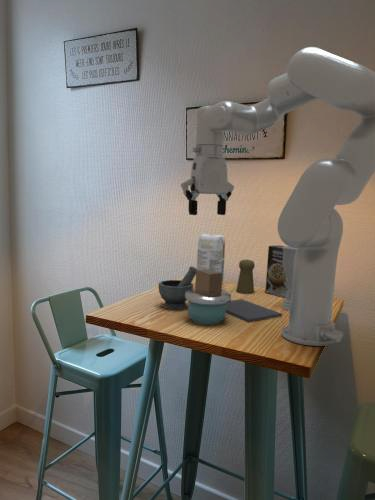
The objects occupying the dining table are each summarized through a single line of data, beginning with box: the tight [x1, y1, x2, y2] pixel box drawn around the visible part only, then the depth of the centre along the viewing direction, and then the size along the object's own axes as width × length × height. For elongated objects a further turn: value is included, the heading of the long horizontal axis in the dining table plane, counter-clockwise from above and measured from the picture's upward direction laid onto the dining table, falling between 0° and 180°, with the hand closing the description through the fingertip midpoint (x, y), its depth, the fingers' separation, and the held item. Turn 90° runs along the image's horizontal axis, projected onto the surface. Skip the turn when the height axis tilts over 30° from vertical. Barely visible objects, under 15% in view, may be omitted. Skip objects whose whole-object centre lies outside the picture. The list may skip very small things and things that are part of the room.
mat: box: [226, 299, 283, 323], centre depth 123 cm, size 17×12×1 cm
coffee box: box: [265, 245, 290, 299], centre depth 144 cm, size 9×6×16 cm
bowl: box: [187, 301, 227, 326], centre depth 113 cm, size 10×10×6 cm
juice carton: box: [196, 233, 226, 285], centre depth 145 cm, size 8×9×19 cm
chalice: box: [280, 245, 297, 311], centre depth 128 cm, size 7×7×18 cm
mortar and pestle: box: [158, 266, 197, 311], centre depth 124 cm, size 11×9×12 cm
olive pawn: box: [236, 259, 255, 295], centre depth 146 cm, size 6×6×11 cm
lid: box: [185, 269, 232, 305], centre depth 112 cm, size 12×12×7 cm
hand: (207, 214), depth 122 cm, fingers open, 9 cm apart
